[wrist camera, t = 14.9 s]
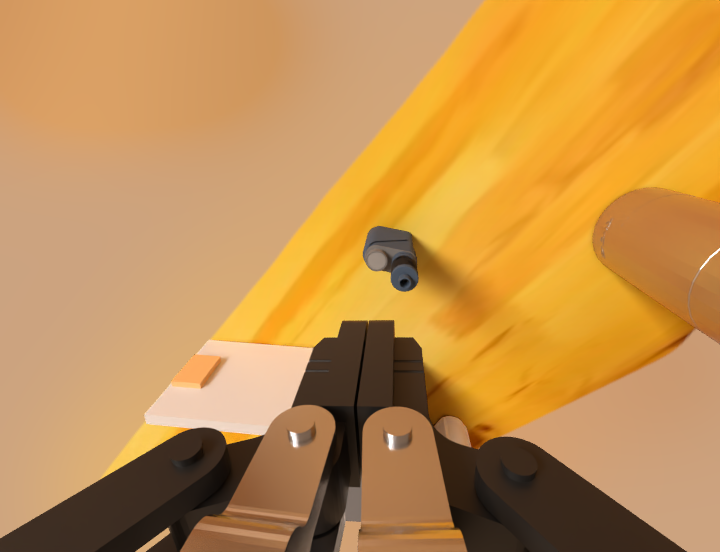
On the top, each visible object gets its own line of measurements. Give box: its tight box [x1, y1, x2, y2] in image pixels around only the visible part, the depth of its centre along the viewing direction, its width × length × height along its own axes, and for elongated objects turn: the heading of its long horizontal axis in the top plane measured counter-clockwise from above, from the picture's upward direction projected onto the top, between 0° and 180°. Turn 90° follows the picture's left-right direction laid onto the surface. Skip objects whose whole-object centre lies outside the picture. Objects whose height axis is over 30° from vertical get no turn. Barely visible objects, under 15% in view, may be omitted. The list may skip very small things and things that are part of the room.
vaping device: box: [363, 226, 418, 291], centre depth 36 cm, size 3×5×12 cm, turn 79°
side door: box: [144, 340, 313, 435], centre depth 42 cm, size 2×17×14 cm, turn 88°
